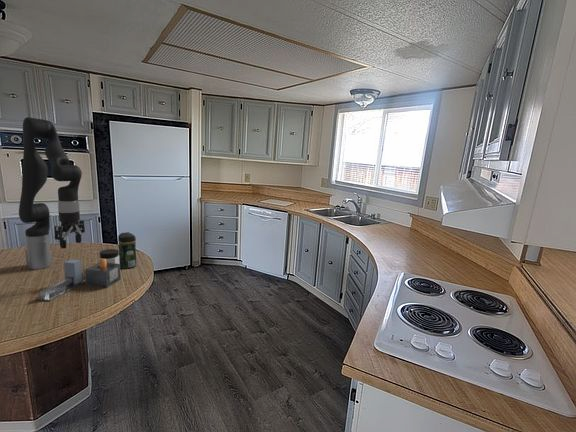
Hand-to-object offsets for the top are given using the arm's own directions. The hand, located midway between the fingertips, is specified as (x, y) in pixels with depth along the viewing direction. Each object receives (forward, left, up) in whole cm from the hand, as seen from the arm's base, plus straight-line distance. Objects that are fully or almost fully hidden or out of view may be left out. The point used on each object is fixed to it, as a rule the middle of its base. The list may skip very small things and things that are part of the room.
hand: (71, 245), depth 135 cm
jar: (+7, +15, -19) cm, 25 cm away
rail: (0, -6, -19) cm, 20 cm away
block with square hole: (+11, +5, -19) cm, 23 cm away
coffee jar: (+9, +27, -19) cm, 34 cm away
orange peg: (+11, +5, -16) cm, 20 cm away
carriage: (0, 0, -19) cm, 19 cm away
